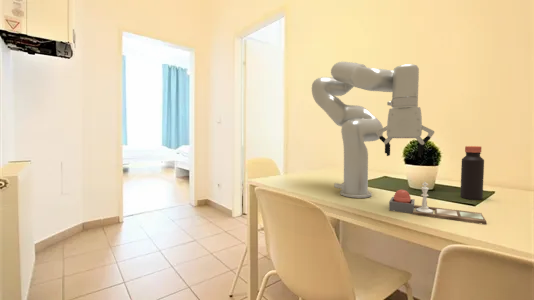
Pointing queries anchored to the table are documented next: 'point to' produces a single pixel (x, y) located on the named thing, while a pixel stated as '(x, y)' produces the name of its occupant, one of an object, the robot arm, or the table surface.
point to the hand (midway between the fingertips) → (403, 156)
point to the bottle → (472, 174)
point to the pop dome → (402, 196)
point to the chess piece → (424, 201)
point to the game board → (453, 215)
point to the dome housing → (401, 206)
